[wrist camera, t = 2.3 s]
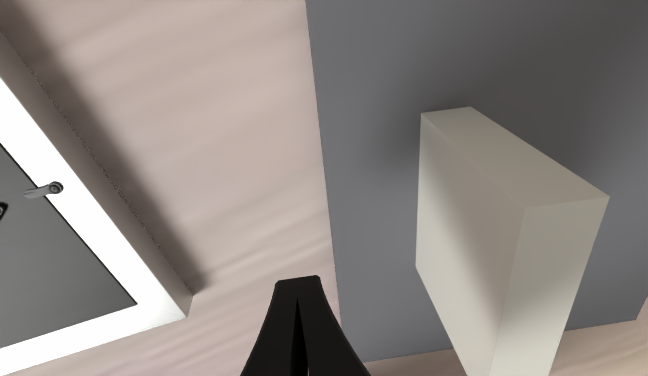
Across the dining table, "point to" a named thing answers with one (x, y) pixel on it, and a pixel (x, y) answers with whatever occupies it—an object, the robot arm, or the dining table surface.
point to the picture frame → (67, 238)
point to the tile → (500, 241)
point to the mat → (498, 105)
